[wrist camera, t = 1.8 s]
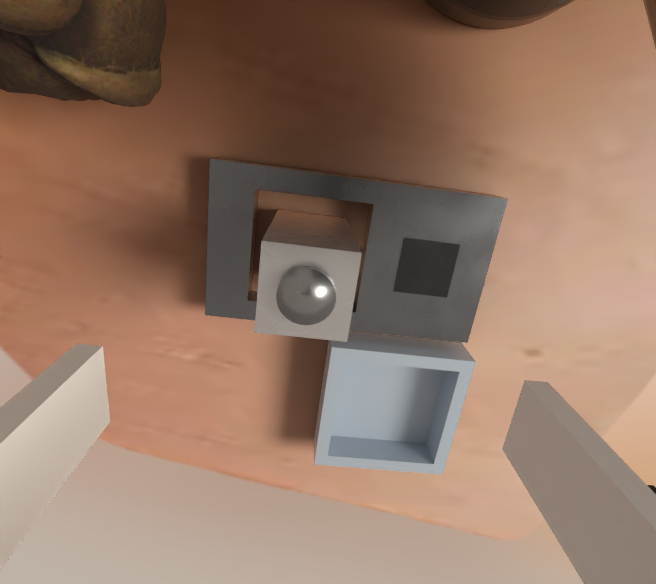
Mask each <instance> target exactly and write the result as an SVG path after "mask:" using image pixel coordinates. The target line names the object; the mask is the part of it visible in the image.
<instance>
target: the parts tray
mask: <svg viewBox="0 0 656 584" xmlns="http://www.w3.org/2000/svg"><path fill="white" fill-rule="evenodd" d="M474 366H475V360H474V359H473V357H472V356H471V355H470V353H469V352H468V351H467V349H466V348H465V347H464V345H463V344H462V343H459V342H450V341H440V340H431V339H421V338H412V337H403V336H393V335H384V334H374V333H365V332H355V331H349V334H348V340H347V342H343V341H333V340H329V341H328V348H327V354H326V361H325V368H324V375H323V381H322V388H321V395H320V402H319V409H318V415H317V422H316V429H315V436H314V464H316V465H328V466H341V467H354V468H366V469H379V470H392V471H404V472H417V473H430V474H442V475H443V471H444V468H445V464H446V461H447V458H448V454H449V451H450V447H451V444H452V441H453V437H454V434H455V430H456V427H457V424H458V420H459V417H460V413H461V410H462V407H463V403H464V400H465V396H466V393H467V390H468V386H469V383H470V379H471V376H472V373H473V369H474Z"/></svg>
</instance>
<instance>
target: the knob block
mask: <svg viewBox="0 0 656 584" xmlns="http://www.w3.org/2000/svg"><path fill="white" fill-rule="evenodd" d="M361 256H362V252H361V250H360V247H359V245H358V243H357V241H356V238H355V236H354V234H353V232H352V229H351V227H350V225H349V223H348V220H347V218H341V217H333V216H325V215H317V214H310V213H302V212H294V211H286V210H278V211H277V213H276V215H275V217H274V218H273V220H272V222H271V224H270V226H269V228H268V230H267V231H266V233H265V235H264V237H263V239H262V241H261V253H260V266H259V279H258V292H257V305H256V318H255V331H254V332H255V333H265V334H275V335H285V336H294V337H304V338H314V339H323V340H333V341H343V342H347V340H348V334H349V328H350V322H351V316H352V310H353V304H354V298H355V292H356V286H357V280H358V274H359V268H360V262H361Z"/></svg>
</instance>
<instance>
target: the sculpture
mask: <svg viewBox="0 0 656 584" xmlns="http://www.w3.org/2000/svg"><path fill="white" fill-rule="evenodd" d="M165 26H166V9H165V3H164V0H0V89H3V90H5V91H7V92H16V93H29V94H38V95H43V96H47V97H52V98H56V99H61V100H78V101H82V100H87V99H91V100H100V99H102V100H104V101H107V102H109V103H112V104H117V105H122V106H129V107H136V106H146V105H147V104H149V103H150V102H151V100H152V99H153V97H154V95H155V94H156V93H157V92H158V91H159V90H160V87H161V64H160V53H161V47H162V43H163V39H164V35H165Z"/></svg>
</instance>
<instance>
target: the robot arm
mask: <svg viewBox="0 0 656 584" xmlns="http://www.w3.org/2000/svg"><path fill="white" fill-rule="evenodd" d="M426 1H427V2H428V3H429V4H431V5H432V6H433V7H434V8H436V9H437V10H438V11H440V12H441V13H443V14H444V15H446V16H448V17H450V18H452V19H453V20H456V21H458V22H461V23H463V24H467V25H470V26H474V27H479V28H487V29H503V28H511V27H517V26H521V25H525V24H528V23H531V22H534V21H536V20H539V19H541V18H543V17H545V16H547V15H549V14H551V13H553V12H555V11H556V10H558V9H560V8H562V7H564V6H566V5H567V4H569V3H571V2H572V1H574V0H426ZM643 1H644V5H645V9H646V13H647V17H648V20H649V24H650V28H651V32H652V36H653V40H654V44H655V48H656V0H643ZM109 422H110V416H109V405H108V395H107V385H106V374H105V364H104V354H103V346H97V345H85V344H75V345H74V346H73V347H72V348H71V349H70V350H68V351H67V352H66V353H65V354H64V355H62V356H61V357H60V358H59V359H58V360H56V361H55V362H54V363H53V364H52V365H50V366H49V367H48V368H47V369H46V370H45V371H43V372H42V373H41V374H40V375H39V376H37V377H36V378H35V379H34V380H33V381H31V382H30V383H29V384H28V385H27V386H25V387H24V388H23V389H22V390H21V391H20V392H19V393H17V394H16V395H15V396H14V397H13V398H11V399H10V400H9V401H8V402H6V403H5V404H4V405H3V406H2V407H0V570H1V569H2V567H3V566H4V564H5V563H6V562H7V560H8V559H9V558H10V556H11V555H12V553H13V552H14V551H15V550H16V548H17V547H18V545H19V544H20V543H21V541H22V540H23V539H24V537H25V536H26V534H27V533H28V532H29V531H30V529H31V528H32V527H33V525H34V524H35V522H36V521H37V520H38V518H39V517H40V516H41V514H42V513H43V511H44V510H45V509H46V508H47V506H48V505H49V504H50V502H51V501H52V499H53V498H54V497H55V495H56V494H57V493H58V491H59V490H60V489H61V487H62V486H63V485H64V483H65V482H66V481H67V479H68V478H69V476H70V475H71V474H72V472H73V471H74V470H75V468H76V467H77V465H78V464H79V463H80V461H81V460H82V459H83V457H84V456H85V455H86V453H87V452H88V451H89V449H90V448H91V447H92V445H93V444H94V443H95V441H96V440H97V439H98V437H99V436H100V434H101V433H102V432H103V430H104V429H105V428H106V426H107V425H108V424H109ZM503 451H504V452H505V454H506V456H507V457H508V459H509V461H510V462H511V464H512V466H513V467H514V469H515V471H516V472H517V474H518V475H519V477H520V479H521V480H522V482H523V484H524V485H525V487H526V489H527V490H528V492H529V494H530V495H531V497H532V499H533V500H534V502H535V504H536V505H537V507H538V508H539V510H540V512H541V513H542V515H543V517H544V518H545V520H546V521H547V523H548V525H549V527H550V528H551V530H552V532H553V533H554V535H555V536H556V538H557V540H558V541H559V543H560V545H561V546H562V548H563V550H564V551H565V553H566V554H567V556H568V558H569V559H570V561H571V563H572V565H573V566H574V568H575V569H576V571H577V573H578V574H579V576H580V578H581V579H582V581H583V582H584V584H656V488H655V487H654V486H652V485H646V484H645V483H644V482H643V481H642V480H641V479H640V478H639V476H638V475H637V474H636V473H635V472H634V471H633V470H632V469H631V468H630V467H629V466H628V465H627V464H626V463H625V462H624V461H623V460H622V459H621V458H620V457H619V456H618V455H617V454H616V453H615V452H614V451H613V450H612V449H611V448H610V447H609V445H608V444H607V443H606V442H605V441H604V440H603V439H602V438H601V437H600V436H599V435H598V434H597V433H596V432H595V431H594V430H593V429H592V428H591V427H590V426H589V425H588V424H587V423H586V421H585V420H584V419H583V418H582V417H581V416H580V415H579V414H578V413H577V412H576V411H575V410H574V409H573V408H572V407H571V406H570V405H569V404H568V403H567V402H566V401H565V400H564V399H563V398H562V397H561V396H560V395H559V393H558V392H557V391H556V390H555V389H554V388H553V387H552V386H551V385H550V384H549V383H548V382H539V381H526V380H525V381H524V384H523V387H522V390H521V393H520V396H519V400H518V403H517V406H516V409H515V412H514V415H513V418H512V421H511V424H510V427H509V430H508V433H507V436H506V439H505V442H504V446H503Z"/></svg>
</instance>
